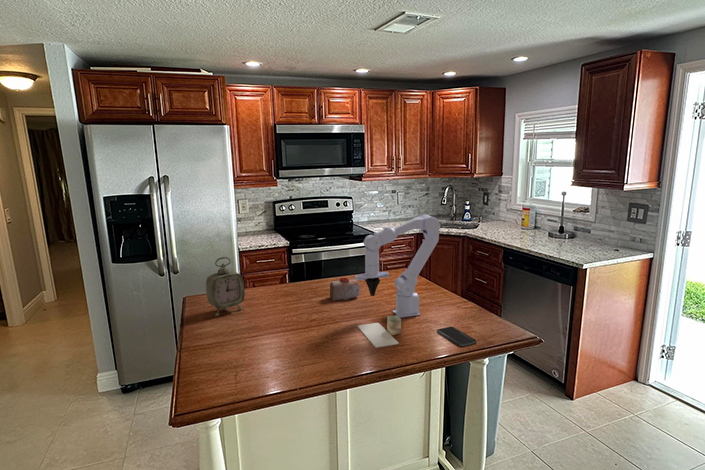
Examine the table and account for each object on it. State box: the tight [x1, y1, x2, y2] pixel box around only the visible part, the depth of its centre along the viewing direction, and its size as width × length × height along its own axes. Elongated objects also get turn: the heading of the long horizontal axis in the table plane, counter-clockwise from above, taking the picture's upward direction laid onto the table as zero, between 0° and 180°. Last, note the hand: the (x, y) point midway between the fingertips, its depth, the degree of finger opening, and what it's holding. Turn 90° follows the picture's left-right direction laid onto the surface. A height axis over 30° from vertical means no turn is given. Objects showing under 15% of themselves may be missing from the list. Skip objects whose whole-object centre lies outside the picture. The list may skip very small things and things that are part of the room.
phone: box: [436, 326, 478, 348], centre depth 153 cm, size 8×1×15 cm
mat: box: [357, 322, 400, 349], centre depth 156 cm, size 9×20×1 cm, turn 18°
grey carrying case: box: [329, 277, 361, 302], centre depth 198 cm, size 14×8×10 cm, turn 110°
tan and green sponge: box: [386, 314, 402, 336], centre depth 158 cm, size 4×4×6 cm
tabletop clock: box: [205, 256, 246, 317], centre depth 180 cm, size 14×9×25 cm, turn 131°
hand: (372, 295), depth 173 cm, fingers closed
